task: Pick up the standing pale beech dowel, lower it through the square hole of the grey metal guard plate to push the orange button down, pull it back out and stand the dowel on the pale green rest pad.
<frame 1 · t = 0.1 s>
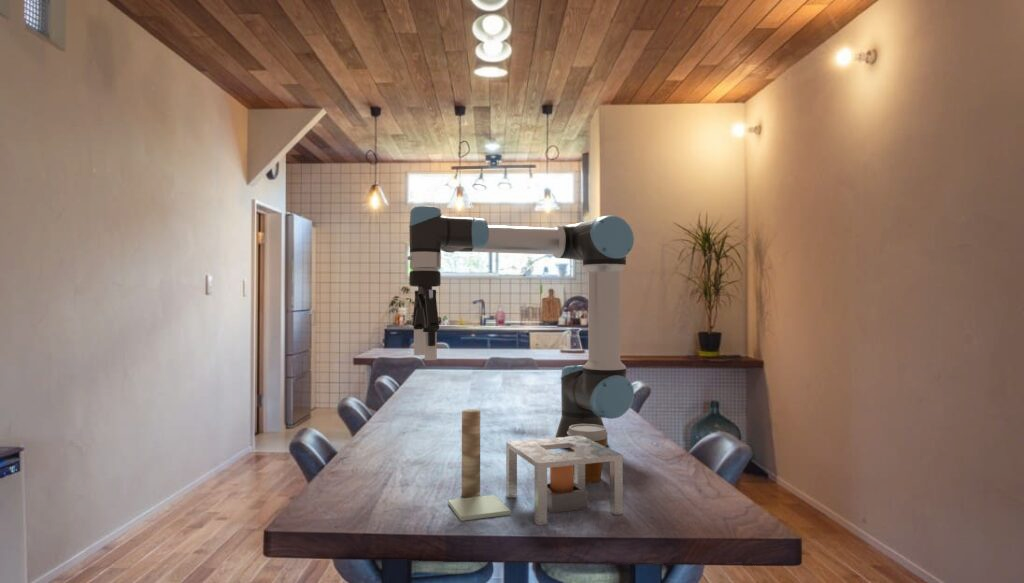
hand: (424, 357, 145), 28 cm above the table, fingers open, 13 cm apart
rest pad: (478, 509, 120), on the table
button: (561, 474, 123), point 6 cm above the table, slide at 0.0 cm
disposable coffee cup: (587, 479, 140), on the table
guard: (561, 504, 123), on the table
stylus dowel: (470, 494, 128), on the table
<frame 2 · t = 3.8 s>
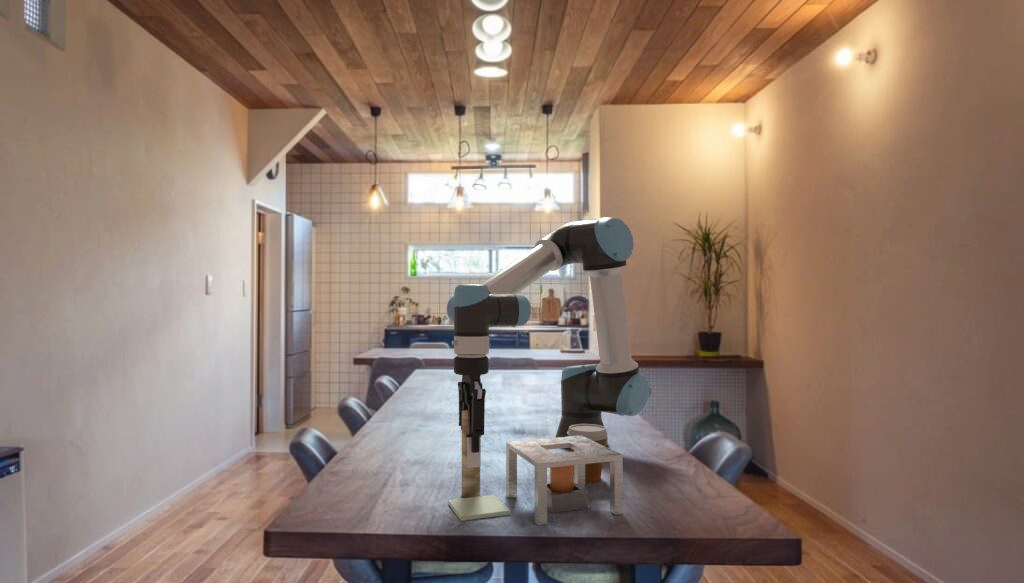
hand: (470, 463, 128), 7 cm above the table, fingers closed on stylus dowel, 4 cm apart
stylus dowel: (470, 494, 128), on the table, touching gripper
everything else where it was.
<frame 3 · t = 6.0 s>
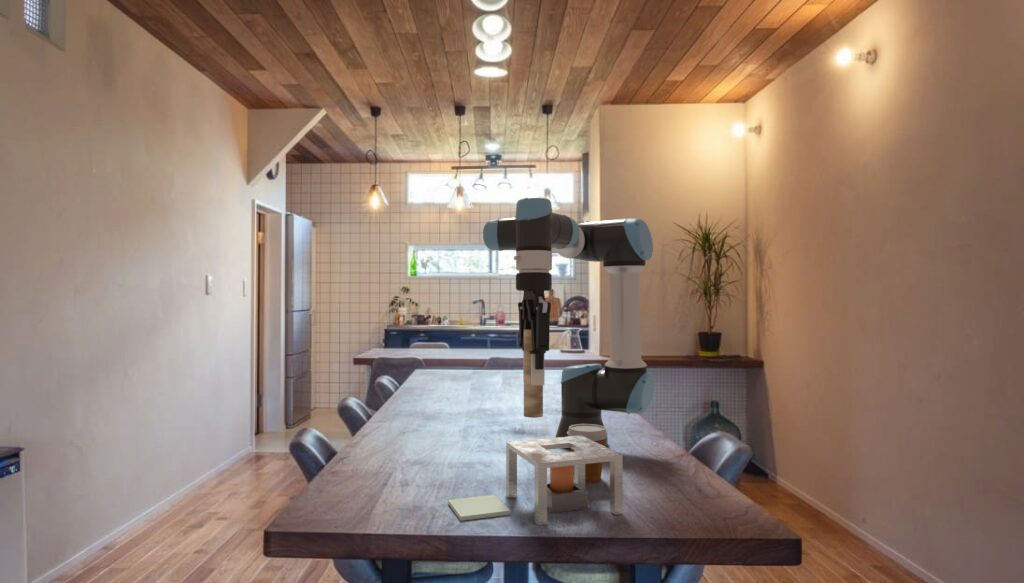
hand: (533, 383, 125), 25 cm above the table, fingers closed on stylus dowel, 4 cm apart
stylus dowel: (533, 415, 125), point 18 cm above the table, touching gripper
everything else where it was.
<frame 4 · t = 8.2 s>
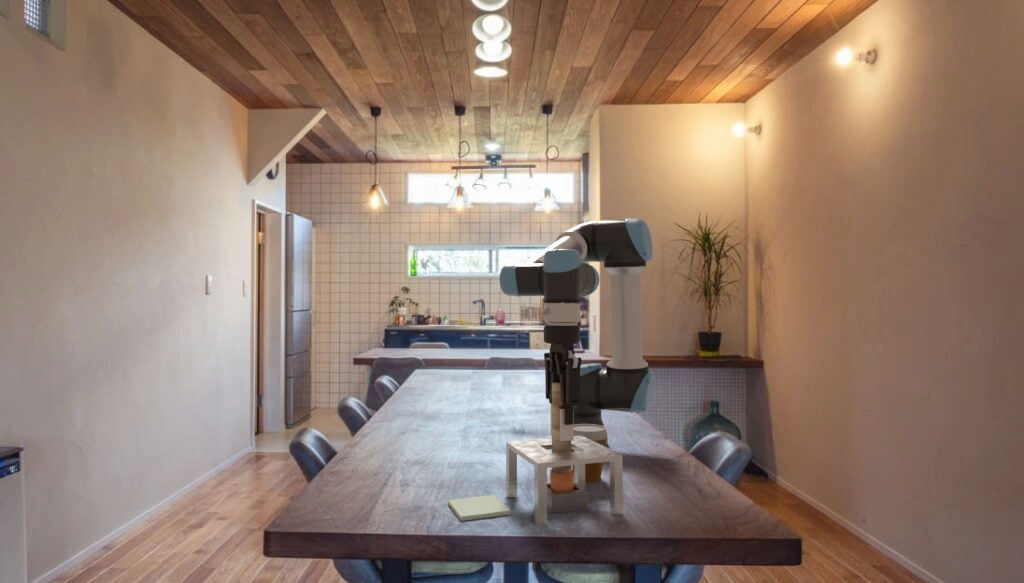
hand: (561, 437, 123), 14 cm above the table, fingers closed on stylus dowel, 4 cm apart
button: (561, 485, 123), point 4 cm above the table, slide at 2.2 cm, touching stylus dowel
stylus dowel: (561, 471, 123), point 7 cm above the table, touching button, gripper
everything else where it was.
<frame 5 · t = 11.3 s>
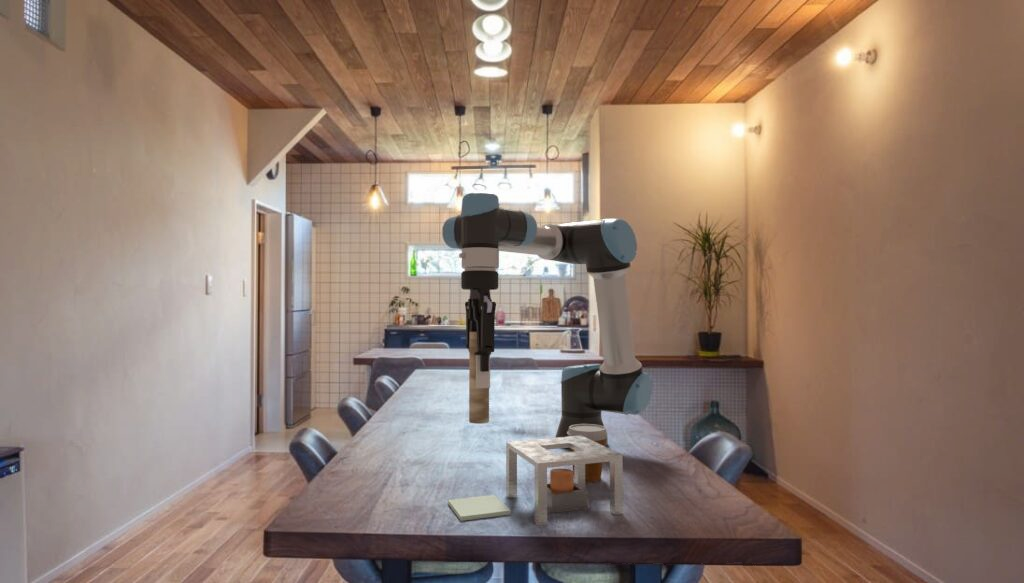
hand: (479, 386, 120), 25 cm above the table, fingers closed on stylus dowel, 4 cm apart
button: (561, 486, 123), point 4 cm above the table, slide at 2.4 cm
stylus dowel: (479, 421, 120), point 18 cm above the table, touching gripper
everything else where it was.
when the fingers open (9 cm above the table, at t = 14.0 s): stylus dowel stays where it is, resting on rest pad.
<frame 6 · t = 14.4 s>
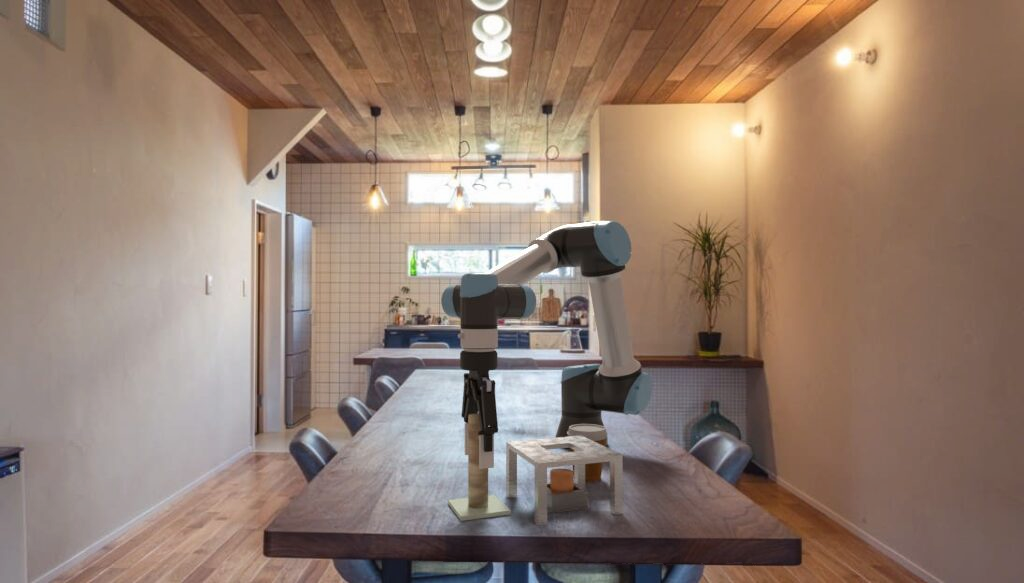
hand: (478, 460, 120), 10 cm above the table, fingers open, 10 cm apart
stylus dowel: (478, 504, 120), point 1 cm above the table, touching rest pad
everything else where it was.
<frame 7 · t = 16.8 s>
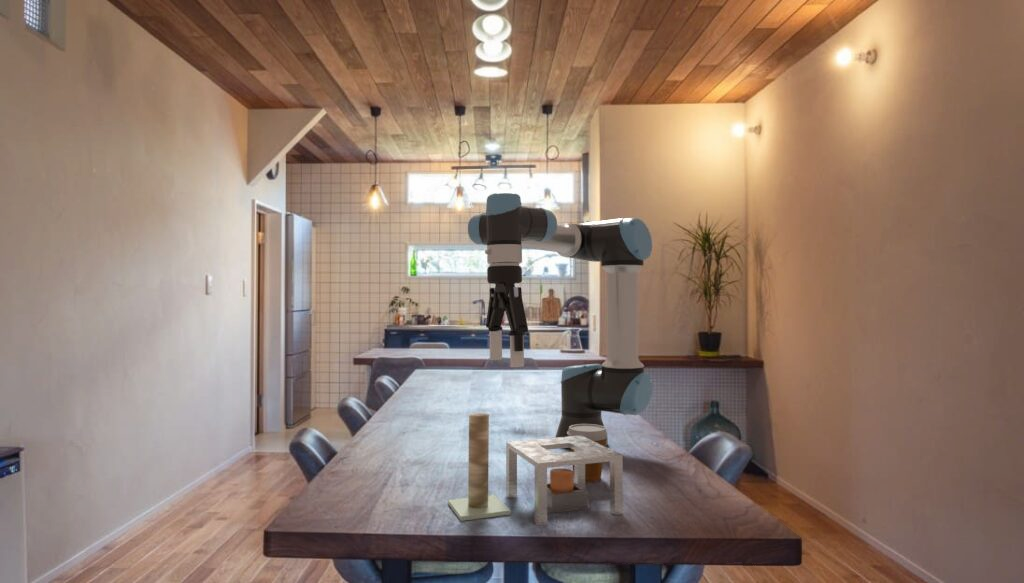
hand: (506, 363, 129), 28 cm above the table, fingers open, 13 cm apart
nothing on the table moved.
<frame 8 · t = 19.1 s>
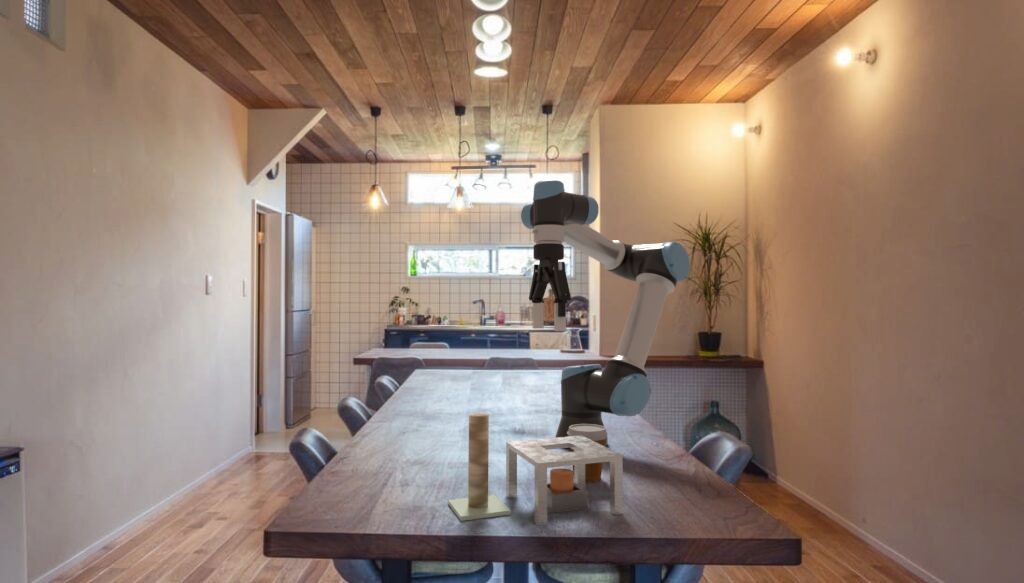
hand: (548, 329, 147), 35 cm above the table, fingers open, 13 cm apart
nothing on the table moved.
at the end: button slide at 2.4 cm; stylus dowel 0.1 cm from the rest pad (horizontally); the gripper is holding nothing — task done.
